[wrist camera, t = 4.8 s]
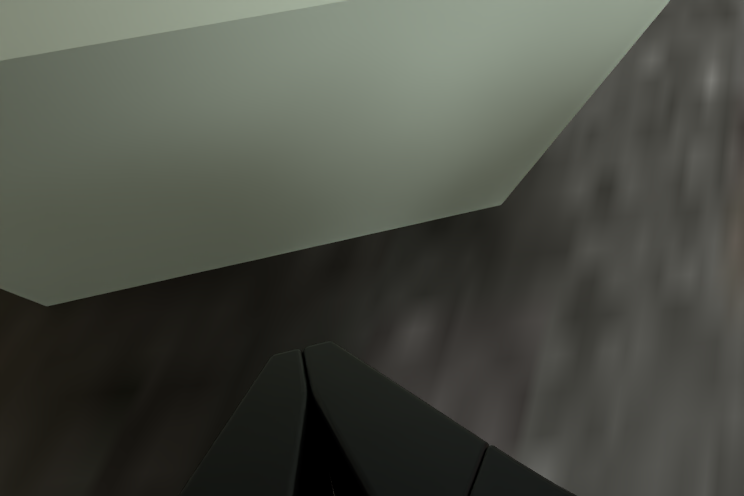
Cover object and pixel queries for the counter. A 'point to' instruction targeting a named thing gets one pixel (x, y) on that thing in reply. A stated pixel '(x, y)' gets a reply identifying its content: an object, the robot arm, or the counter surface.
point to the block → (271, 124)
